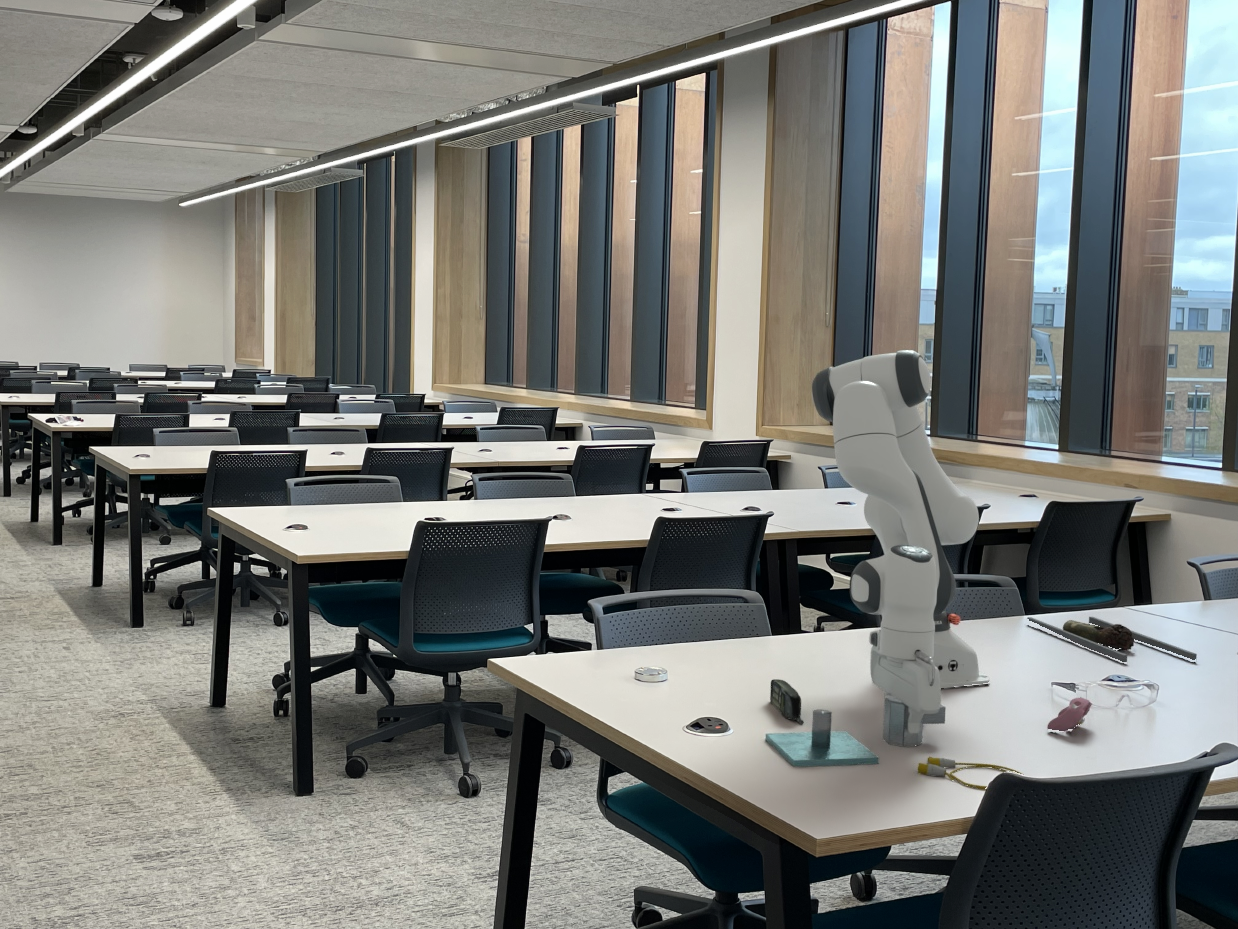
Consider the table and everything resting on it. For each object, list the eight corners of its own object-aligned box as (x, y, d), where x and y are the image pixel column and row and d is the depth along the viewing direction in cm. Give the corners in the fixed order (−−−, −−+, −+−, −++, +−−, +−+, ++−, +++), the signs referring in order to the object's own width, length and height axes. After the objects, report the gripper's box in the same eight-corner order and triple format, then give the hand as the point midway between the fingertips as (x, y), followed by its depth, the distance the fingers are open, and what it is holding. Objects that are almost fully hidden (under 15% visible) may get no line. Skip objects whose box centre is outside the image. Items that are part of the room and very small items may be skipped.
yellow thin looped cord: (950, 758, 201) (951, 746, 200) (1041, 784, 189) (1042, 771, 189) (908, 773, 192) (909, 761, 192) (1001, 801, 181) (1001, 788, 181)
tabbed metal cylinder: (931, 734, 212) (934, 690, 211) (948, 745, 206) (950, 700, 205) (878, 736, 210) (880, 692, 209) (892, 747, 204) (895, 701, 203)
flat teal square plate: (844, 737, 209) (846, 699, 208) (878, 763, 195) (880, 723, 194) (765, 739, 206) (767, 701, 205) (793, 766, 192) (795, 725, 192)
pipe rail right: (1092, 624, 312) (1092, 616, 311) (1196, 662, 273) (1196, 654, 272) (1088, 624, 311) (1089, 616, 311) (1192, 663, 272) (1192, 654, 272)
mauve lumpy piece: (1067, 745, 213) (1089, 713, 211) (1043, 729, 215) (1064, 697, 213) (1079, 732, 222) (1100, 701, 220) (1056, 717, 224) (1076, 686, 222)
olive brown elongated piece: (1060, 639, 295) (1062, 615, 294) (1080, 637, 298) (1082, 613, 297) (1122, 654, 279) (1124, 630, 279) (1143, 652, 282) (1144, 628, 282)
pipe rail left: (1030, 625, 308) (1031, 617, 308) (1126, 664, 269) (1127, 655, 269) (1026, 625, 308) (1027, 617, 308) (1122, 664, 269) (1123, 655, 269)
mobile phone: (768, 677, 229) (791, 696, 214) (783, 677, 230) (808, 696, 215) (767, 703, 230) (790, 725, 215) (782, 703, 230) (807, 725, 215)
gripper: (953, 658, 197) (948, 743, 198) (899, 630, 217) (895, 708, 218) (916, 659, 195) (911, 745, 196) (865, 631, 215) (861, 709, 216)
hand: (902, 725), depth 207 cm, fingers closed on tabbed metal cylinder, 6 cm apart
